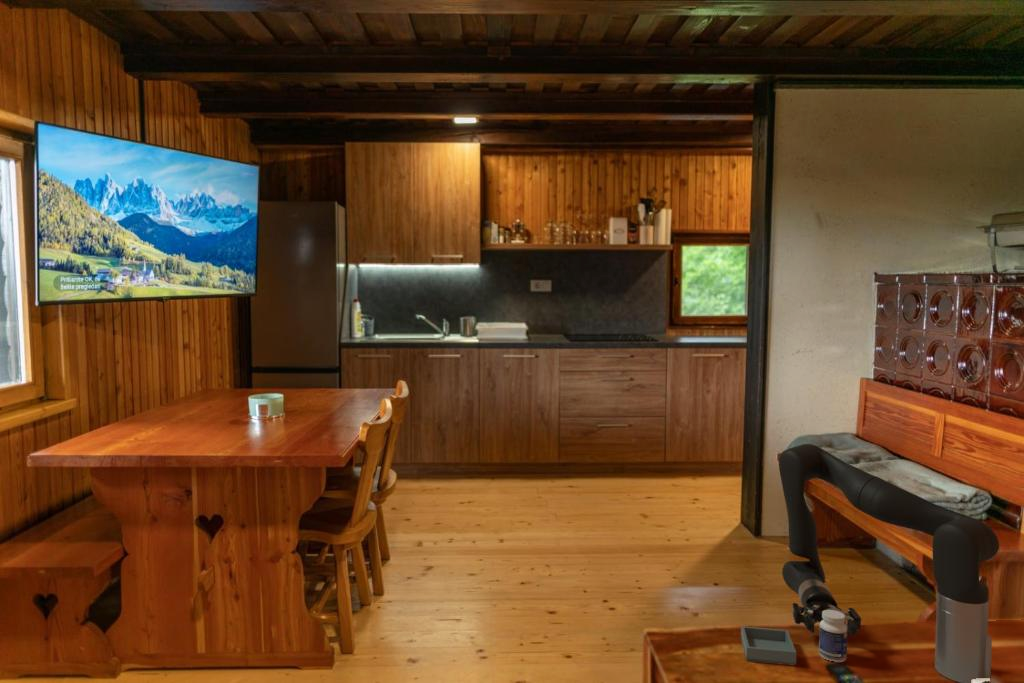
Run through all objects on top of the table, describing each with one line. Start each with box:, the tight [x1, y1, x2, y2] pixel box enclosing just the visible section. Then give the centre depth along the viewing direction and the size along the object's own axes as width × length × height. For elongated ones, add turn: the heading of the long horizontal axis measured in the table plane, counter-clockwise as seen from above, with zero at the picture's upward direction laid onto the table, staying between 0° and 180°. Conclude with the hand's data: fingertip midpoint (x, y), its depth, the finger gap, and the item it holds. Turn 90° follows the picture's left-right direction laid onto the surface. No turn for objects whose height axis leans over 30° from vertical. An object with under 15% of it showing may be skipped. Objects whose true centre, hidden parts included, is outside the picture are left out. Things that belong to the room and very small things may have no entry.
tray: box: [740, 625, 797, 666], centre depth 156 cm, size 10×10×3 cm
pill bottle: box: [818, 610, 848, 663], centre depth 153 cm, size 6×6×10 cm
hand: (833, 630), depth 153 cm, fingers open, 8 cm apart
